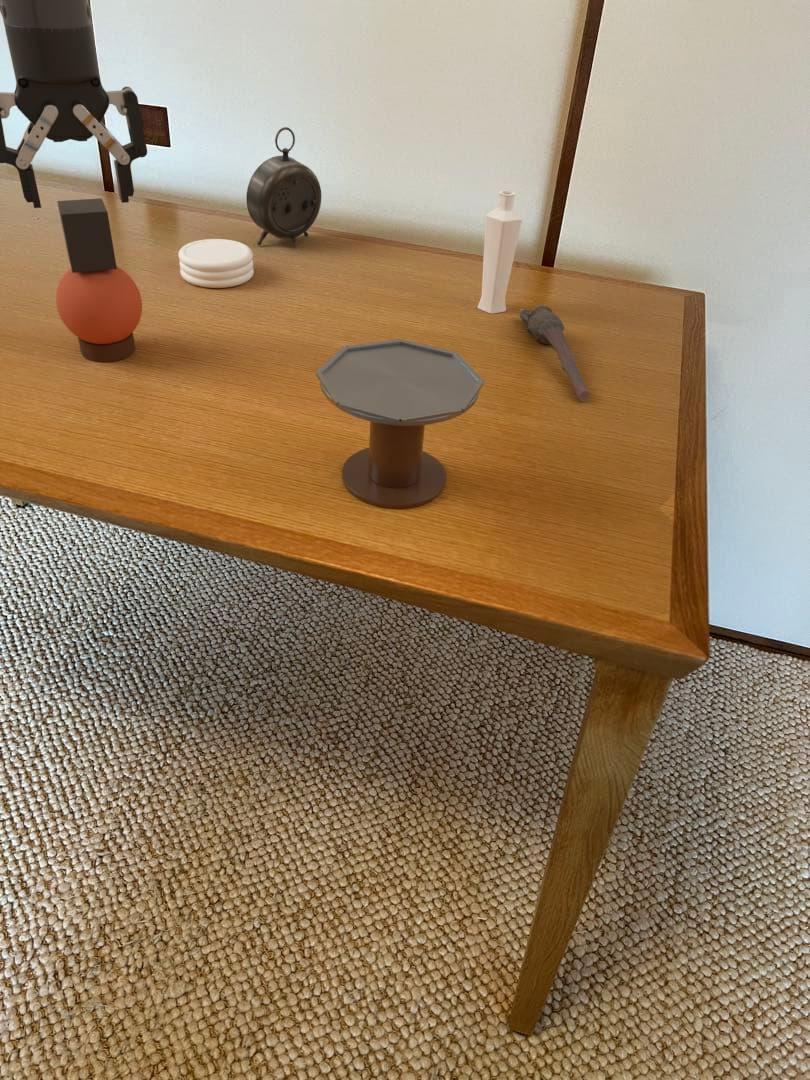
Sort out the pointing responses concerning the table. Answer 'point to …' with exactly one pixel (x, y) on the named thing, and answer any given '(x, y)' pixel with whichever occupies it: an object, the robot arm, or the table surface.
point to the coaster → (216, 263)
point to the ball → (100, 312)
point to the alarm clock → (283, 196)
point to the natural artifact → (555, 343)
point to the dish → (397, 414)
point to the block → (87, 235)
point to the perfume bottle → (499, 252)
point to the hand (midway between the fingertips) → (81, 203)
